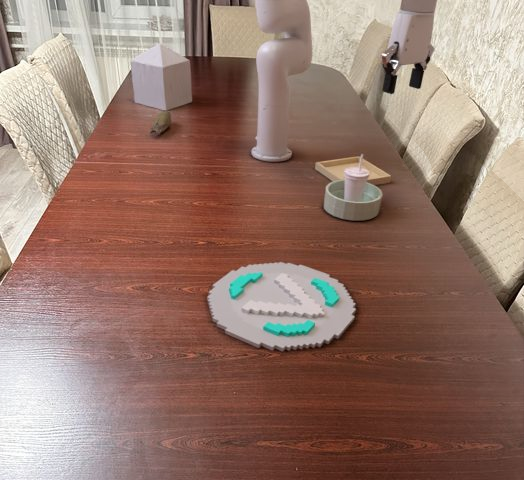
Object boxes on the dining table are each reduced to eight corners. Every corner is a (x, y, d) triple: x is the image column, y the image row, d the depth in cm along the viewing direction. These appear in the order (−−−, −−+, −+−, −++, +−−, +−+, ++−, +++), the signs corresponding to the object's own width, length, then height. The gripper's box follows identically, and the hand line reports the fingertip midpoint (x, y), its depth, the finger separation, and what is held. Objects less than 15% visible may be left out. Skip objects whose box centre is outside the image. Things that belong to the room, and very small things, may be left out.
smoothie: (362, 214, 133) (372, 160, 124) (337, 211, 134) (345, 157, 125) (364, 204, 138) (373, 151, 129) (339, 201, 139) (347, 148, 130)
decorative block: (192, 101, 205) (190, 43, 192) (166, 110, 194) (161, 49, 181) (161, 94, 211) (157, 37, 198) (133, 102, 200) (127, 43, 187)
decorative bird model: (175, 122, 184) (175, 107, 181) (162, 140, 169) (160, 124, 166) (161, 121, 185) (160, 106, 181) (146, 139, 169) (145, 123, 166)
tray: (314, 168, 157) (315, 162, 155) (357, 162, 162) (358, 156, 161) (345, 190, 145) (346, 183, 144) (390, 182, 151) (391, 175, 150)
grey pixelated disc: (310, 371, 87) (311, 363, 86) (179, 313, 98) (179, 306, 97) (375, 294, 106) (376, 287, 105) (259, 253, 117) (259, 246, 116)
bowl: (312, 202, 139) (315, 184, 135) (358, 194, 144) (361, 176, 141) (342, 225, 129) (345, 206, 126) (390, 216, 134) (394, 197, 131)
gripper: (429, 1, 121) (412, 82, 132) (378, 4, 112) (365, 91, 123) (456, 5, 116) (436, 89, 127) (406, 9, 108) (389, 98, 119)
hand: (401, 90), depth 125 cm, fingers open, 9 cm apart
